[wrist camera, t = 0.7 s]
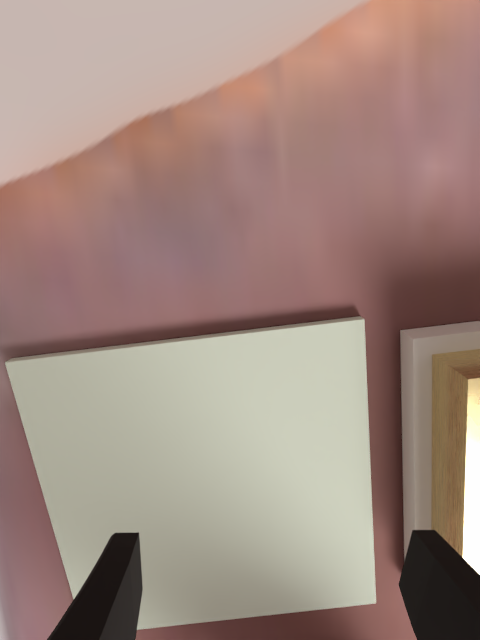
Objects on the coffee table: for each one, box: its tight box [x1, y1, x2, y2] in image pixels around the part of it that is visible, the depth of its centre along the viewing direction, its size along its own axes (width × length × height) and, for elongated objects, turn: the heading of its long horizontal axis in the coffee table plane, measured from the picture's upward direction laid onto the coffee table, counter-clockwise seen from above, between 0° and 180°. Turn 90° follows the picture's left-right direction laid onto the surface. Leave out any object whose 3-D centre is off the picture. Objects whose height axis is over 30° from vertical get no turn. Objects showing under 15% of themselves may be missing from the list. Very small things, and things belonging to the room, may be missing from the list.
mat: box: [5, 316, 376, 630], centre depth 22 cm, size 18×18×1 cm
